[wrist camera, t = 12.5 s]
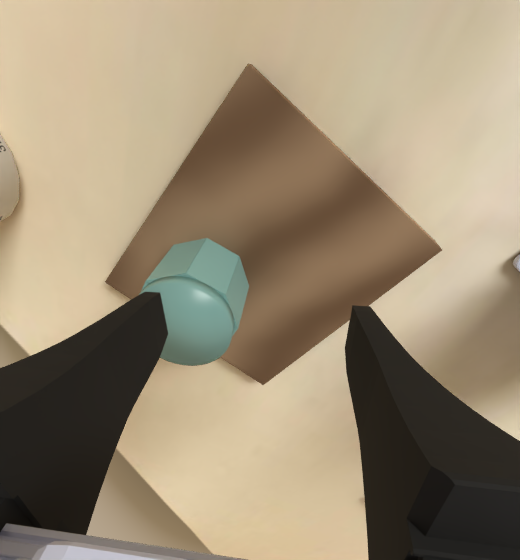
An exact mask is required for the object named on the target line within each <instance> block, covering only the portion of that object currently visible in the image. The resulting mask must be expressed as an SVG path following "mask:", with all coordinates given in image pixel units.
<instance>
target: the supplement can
mask: <svg viewBox="0 0 520 560" xmlns="http://www.w3.org/2000/svg"><path fill="white" fill-rule="evenodd" d="M19 181H20V178H19V175H18V170H17V167H16V164H15V161H14V158H13V155H12V152H11V150H10V148H9V147H8V145H7V144H6V142H5V140H4V139H3V137H2V136H1V134H0V221H2V220H3V219H5V218H7V217H8V216H10V215H11V214H12V212H13V210H14V208H15V206H16V205H17V203H18V201H19Z"/></svg>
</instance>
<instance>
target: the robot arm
mask: <svg viewBox="0 0 520 560" xmlns="http://www.w3.org/2000/svg"><path fill="white" fill-rule="evenodd" d="M513 265H514V267H515V268H516V269H517V270H518V271H519V272H520V255H518V256H517V257H516V258H515V259H514V261H513ZM167 336H168V330H167V324H166V319H165V314H164V309H163V304H162V299H161V294H160V293H159V292H143V293H142V294H140V295H138V296H136V297H135V298H133V299H132V300H130V301H129V302H127V303H125V304H124V305H122V306H121V307H119V308H118V309H116V310H115V311H113V312H111V313H110V314H108V315H107V316H105V317H104V318H102V319H100V320H99V321H97V322H95V323H94V324H92V325H90V326H89V327H87V328H85V329H83V330H82V331H80V332H78V333H77V334H75V335H73V336H71V337H69V338H68V339H66V340H64V341H62V342H60V343H58V344H56V345H54V346H52V347H50V348H47V349H45V350H43V351H41V352H39V353H36V354H34V355H32V356H29V357H27V358H25V359H22V360H20V361H18V362H15V363H13V364H10V365H8V366H5V367H2V368H0V560H247V559H240V558H233V557H227V556H220V555H214V554H207V553H200V552H194V551H187V550H180V549H173V548H167V547H160V546H154V545H147V544H140V543H133V542H127V541H121V540H114V539H107V538H100V537H94V536H87V535H86V533H87V530H88V527H89V524H90V521H91V517H92V514H93V511H94V508H95V504H96V501H97V499H98V496H99V493H100V490H101V487H102V484H103V481H104V478H105V475H106V473H107V470H108V467H109V464H110V462H111V459H112V457H113V454H114V451H115V449H116V446H117V443H118V441H119V438H120V436H121V434H122V431H123V429H124V426H125V424H126V421H127V419H128V417H129V415H130V413H131V410H132V408H133V406H134V404H135V403H136V401H137V399H138V397H139V395H140V393H141V391H142V390H143V388H144V386H145V384H146V382H147V380H148V378H149V377H150V375H151V373H152V371H153V369H154V367H155V365H156V363H157V361H158V359H159V358H160V355H161V353H162V350H163V347H164V345H165V342H166V339H167ZM345 355H346V370H347V377H348V382H349V387H350V393H351V398H352V403H353V408H354V413H355V418H356V423H357V428H358V434H359V441H360V450H361V460H362V471H363V483H364V495H365V508H366V523H367V537H368V555H369V560H520V441H519V440H517V439H515V438H514V437H512V436H511V435H509V434H508V433H506V432H505V431H503V430H501V429H500V428H498V427H497V426H495V425H494V424H492V423H491V422H489V421H488V420H487V419H485V418H484V417H482V416H481V415H479V414H478V413H477V412H475V411H474V410H472V409H471V408H470V407H469V406H467V405H466V404H465V403H463V402H462V401H461V400H459V399H458V398H457V397H455V396H454V395H453V394H452V393H451V392H449V391H448V390H447V389H446V388H444V387H443V386H442V385H441V384H440V383H439V382H438V381H436V380H435V379H434V378H433V377H432V376H431V375H430V374H429V373H428V372H426V371H425V370H424V369H423V368H422V367H421V366H420V365H419V364H418V363H417V362H416V361H415V360H414V359H413V358H412V357H411V356H410V354H409V353H408V352H407V351H406V350H405V349H404V348H403V347H402V345H401V344H400V343H399V342H398V341H397V340H396V339H395V337H394V336H393V335H392V334H391V333H390V331H389V330H388V329H387V328H386V326H385V325H384V324H383V322H382V321H381V320H380V319H379V317H378V316H377V315H376V313H375V312H374V311H373V309H372V308H371V307H370V306H356V305H352V311H351V317H350V322H349V328H348V334H347V339H346V345H345Z"/></svg>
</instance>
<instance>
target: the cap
mask: <svg viewBox="0 0 520 560" xmlns="http://www.w3.org/2000/svg"><path fill="white" fill-rule="evenodd" d="M248 289H249V284H248V281H247V278H246V275H245V272H244V269H243V266H242V263H241V259H240V256H238V255H236V254H235V253H233V252H231V251H229V250H228V249H226V248H224V247H222V246H221V245H219V244H217V243H215V242H213V241H212V240H210V239H208V238H204V239H199V240H194V241H189V242H184V243H180V244H175V245H173V246H172V247H171V249H170V250H169V251H168V253H167V254H166V255H165V257H164V258H163V259H162V260H161V262H160V263H159V264H158V266H157V267H156V268H155V269H154V271H153V272H152V273H151V275H150V276H149V277H148V278H147V280H146V281H145V284H144V286H143V288H142V290H141V292H140V294H142V293H143V292H159V293H160V294H161V299H162V304H163V309H164V314H165V319H166V324H167V330H168V336H167V339H166V342H165V345H164V347H163V350H162V353H161V355H160V358H162V359H164V360H167V361H169V362H172V363H176V364H180V365H189V366H195V365H203V364H207V363H210V362H212V361H215V360H216V359H218V358H219V357H221V356H222V355H223V354H224V353H225V352H226V350H227V349H228V347H229V345H230V342H231V339H232V336H233V335H234V333H235V332H236V331H237V329H238V327H239V323H240V319H241V316H242V312H243V308H244V304H245V300H246V297H247V293H248ZM140 294H139V295H140Z"/></svg>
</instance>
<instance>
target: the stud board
mask: <svg viewBox="0 0 520 560" xmlns="http://www.w3.org/2000/svg"><path fill="white" fill-rule="evenodd" d="M204 238H208V239H210V240H212V241H213V242H215V243H217V244H219V245H221V246H222V247H224V248H226V249H228V250H229V251H231V252H233V253H235V254H236V255H238V256H240V259H241V263H242V266H243V269H244V272H245V275H246V278H247V281H248V284H249V289H248V293H247V297H246V300H245V304H244V308H243V312H242V316H241V319H240V323H239V327H238V329H237V331H236V332H235V333H234V335H233V336H232V339H231V342H230V345H229V347H228V349H227V350H226V352H225V353H224V354H223V355H222V356H221V358H222V359H224V360H225V361H227V362H229V363H230V364H232V365H233V366H235V367H236V368H238V369H239V370H241V371H242V372H244V373H245V374H247V375H248V376H250V377H252V378H253V379H255V380H256V381H258V382H259V383H261V384H262V385H264V384H265V383H267V382H268V381H269V380H271V379H272V378H273V377H274V376H276V375H277V374H278V373H280V372H281V371H282V370H284V369H285V368H286V367H288V366H289V365H290V364H292V363H293V362H294V361H296V360H297V359H298V358H300V357H301V356H302V355H304V354H305V353H306V352H308V351H309V350H310V349H312V348H313V347H314V346H316V345H317V344H318V343H320V342H321V341H322V340H324V339H325V338H326V337H328V336H329V335H330V334H332V333H333V332H334V331H336V330H337V329H338V328H339V327H341V326H342V325H343V324H345V323H346V322H347V321H349V320H350V317H351V311H352V305H356V306H369V305H370V304H371V303H373V302H374V301H375V300H377V299H378V298H379V297H381V296H382V295H383V294H385V293H386V292H387V291H389V290H390V289H391V288H393V287H394V286H395V285H397V284H398V283H399V282H400V281H402V280H403V279H404V278H406V277H407V276H408V275H410V274H411V273H412V272H414V271H415V270H416V269H418V268H419V267H420V266H422V265H423V264H424V263H426V262H427V261H428V260H430V259H431V258H432V257H434V256H435V255H436V254H438V253H439V252H440V251H442V249H441V248H440V247H439V245H438V244H437V243H436V242H435V240H434V239H432V238H431V237H430V236H429V235H428V234H427V233H426V232H425V231H424V230H423V229H422V228H421V227H420V226H419V225H418V224H417V223H416V222H415V221H414V220H413V219H412V218H411V217H410V216H409V215H408V214H407V213H405V212H404V211H403V210H402V209H401V208H400V207H399V206H398V205H397V204H396V203H395V202H394V201H393V200H392V199H391V198H390V197H389V196H388V195H387V194H386V193H385V192H384V191H383V190H382V189H381V188H379V187H378V186H377V185H376V184H375V183H374V182H373V181H372V180H371V179H370V178H369V177H368V176H367V175H366V174H365V173H364V172H363V171H362V170H361V169H360V168H359V167H358V166H357V165H356V164H355V163H353V162H352V161H351V160H350V159H349V158H348V157H347V156H346V155H345V154H344V153H343V152H342V151H341V150H340V149H339V148H338V147H337V146H336V145H335V144H334V143H333V142H332V141H331V140H330V139H329V138H327V137H326V136H325V135H324V134H323V133H322V132H321V131H320V130H319V129H318V128H317V127H316V126H315V125H314V124H313V123H312V122H311V121H310V120H309V119H308V118H307V117H306V116H305V115H304V114H303V113H302V112H300V111H299V110H298V109H297V108H296V107H295V106H294V105H293V104H292V103H291V102H290V101H289V100H288V99H287V98H286V97H285V96H284V95H283V94H282V93H281V92H280V91H279V90H278V89H277V88H276V87H274V86H273V85H272V84H271V83H270V82H269V81H268V80H267V79H266V78H265V77H264V76H263V75H262V74H261V73H260V72H259V71H258V70H257V69H256V68H255V67H254V66H253V65H252V64H247V66H246V68H245V69H244V71H243V72H242V74H241V75H240V77H239V78H238V80H237V81H236V83H235V84H234V86H233V87H232V89H231V90H230V92H229V93H228V95H227V97H226V98H225V100H224V101H223V103H222V104H221V106H220V107H219V109H218V110H217V112H216V113H215V115H214V116H213V118H212V119H211V121H210V123H209V124H208V126H207V127H206V129H205V130H204V132H203V133H202V135H201V136H200V138H199V139H198V141H197V142H196V144H195V145H194V147H193V148H192V150H191V152H190V153H189V155H188V156H187V158H186V159H185V161H184V162H183V164H182V165H181V167H180V168H179V170H178V171H177V173H176V174H175V176H174V178H173V179H172V181H171V182H170V184H169V185H168V187H167V188H166V190H165V191H164V193H163V194H162V196H161V197H160V199H159V200H158V202H157V203H156V205H155V207H154V208H153V210H152V211H151V213H150V214H149V216H148V217H147V219H146V220H145V222H144V223H143V225H142V226H141V228H140V229H139V231H138V232H137V234H136V236H135V237H134V239H133V240H132V242H131V243H130V245H129V246H128V248H127V249H126V251H125V252H124V254H123V255H122V257H121V258H120V260H119V262H118V263H117V265H116V266H115V268H114V269H113V271H112V272H111V274H110V275H109V277H108V278H107V280H106V281H105V282H106V283H107V284H109V285H110V286H112V287H113V288H115V289H116V290H118V291H119V292H121V293H123V294H124V295H126V296H127V297H129V298H130V299H133V298H135V297H136V296H138V295H139V294H140V292H141V290H142V288H143V286H144V284H145V281H146V280H147V278H148V277H149V276H150V275H151V273H152V272H153V271H154V269H155V268H156V267H157V266H158V264H159V263H160V262H161V260H162V259H163V258H164V257H165V255H166V254H167V253H168V251H169V250H170V249H171V247H172V246H173V245H175V244H180V243H184V242H189V241H194V240H199V239H204Z"/></svg>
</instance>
